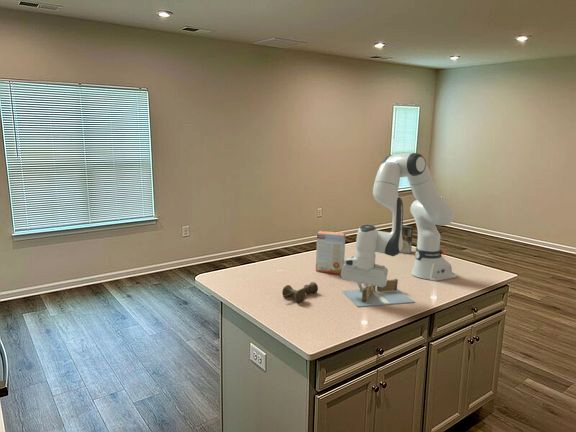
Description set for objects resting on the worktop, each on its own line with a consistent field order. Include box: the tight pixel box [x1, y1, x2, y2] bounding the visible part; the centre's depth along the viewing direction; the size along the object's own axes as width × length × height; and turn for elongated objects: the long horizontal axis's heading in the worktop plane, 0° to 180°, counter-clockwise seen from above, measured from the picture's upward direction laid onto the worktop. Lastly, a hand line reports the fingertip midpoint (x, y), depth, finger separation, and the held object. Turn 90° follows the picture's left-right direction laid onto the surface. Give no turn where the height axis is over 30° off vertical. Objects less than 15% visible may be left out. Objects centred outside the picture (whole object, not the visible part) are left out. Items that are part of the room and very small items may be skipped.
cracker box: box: [315, 230, 346, 275], centre depth 228 cm, size 14×6×21 cm, turn 71°
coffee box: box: [399, 225, 414, 254], centre depth 269 cm, size 9×6×16 cm
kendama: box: [281, 281, 319, 304], centre depth 193 cm, size 6×10×20 cm
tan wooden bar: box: [362, 285, 377, 302], centre depth 195 cm, size 16×2×5 cm, turn 152°
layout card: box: [341, 278, 416, 308], centre depth 196 cm, size 27×18×6 cm, turn 104°
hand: (362, 292), depth 193 cm, fingers closed
